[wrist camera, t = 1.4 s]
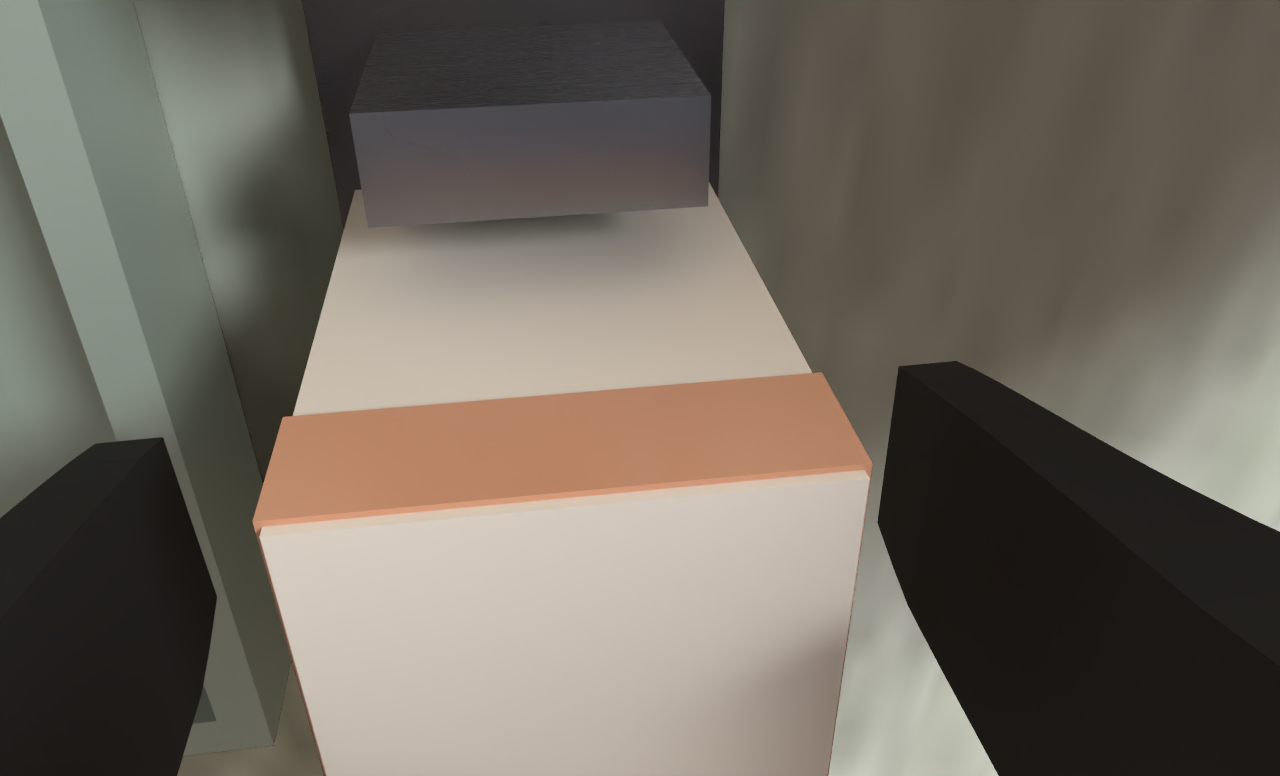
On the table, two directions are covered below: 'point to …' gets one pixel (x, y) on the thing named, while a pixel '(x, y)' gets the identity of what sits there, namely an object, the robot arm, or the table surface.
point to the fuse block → (518, 105)
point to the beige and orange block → (563, 506)
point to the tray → (124, 324)
